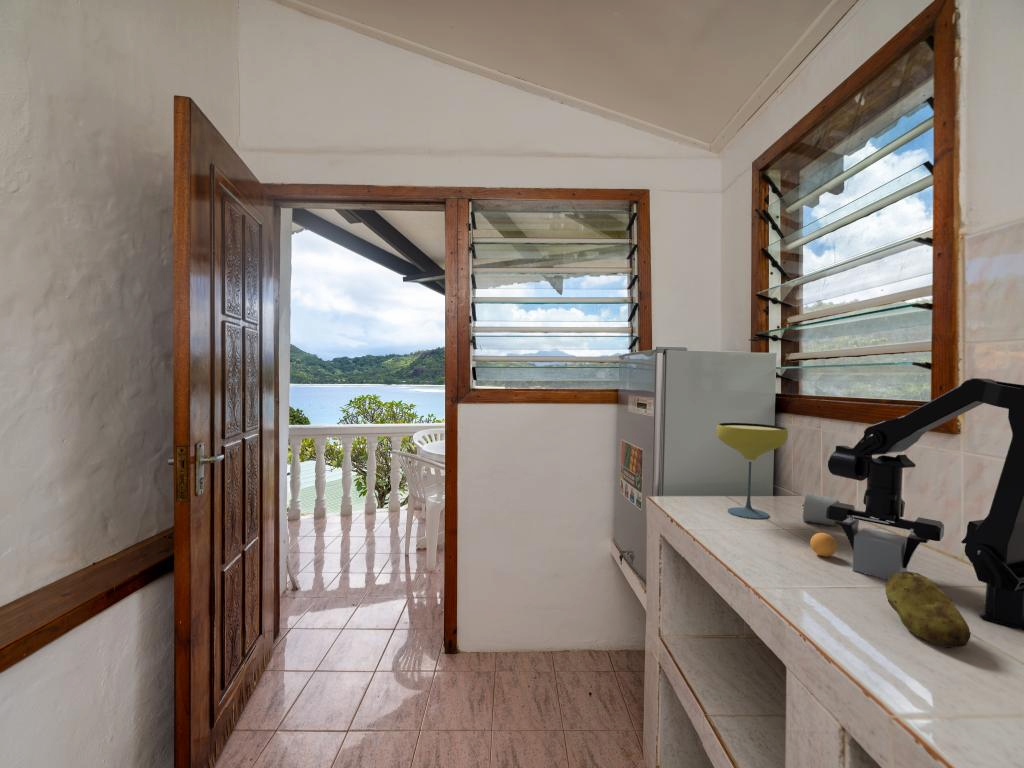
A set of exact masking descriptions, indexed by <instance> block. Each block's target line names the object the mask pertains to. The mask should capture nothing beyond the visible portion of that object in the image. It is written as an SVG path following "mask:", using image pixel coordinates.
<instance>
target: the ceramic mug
mask: <svg viewBox="0 0 1024 768" xmlns="http://www.w3.org/2000/svg"><path fill="white" fill-rule="evenodd" d="M803 502H804V503H803V511H802V520H803V522H807V523H813V524H818V523H819V525H825V526H830V525H831V527H832V526H833V527H834V526H838V525H837V524H836V520H831V519H828V518H826V510H827V507H828V506H830V505H832V504H834V503H835V502H838V503H841V502H840V501H839V500H838V499H836V498H833V497H828V496H824V495H818V494H814V493H809V492H806V493H805V495H804V501H803Z"/></svg>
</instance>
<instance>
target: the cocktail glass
mask: <svg viewBox="0 0 1024 768" xmlns="http://www.w3.org/2000/svg"><path fill="white" fill-rule="evenodd" d="M788 432H789V431H788V428H786V427H784V426H778V425H772V424H763V423H750V422H748V423H747V422H722V423H718V425H717V427H716V435H717V438H719V440H720V441H721V442H723V443H724V444H725V445H727V446H728V447H729V448H731V449H734V450H735V451H737V452H738V453H740V454H741V455H742V457H743V458H744V459H745V461H747V462H748V477H747V479H748V480H747V481H748V482H747V495H746V502H745V506H744V507H743V506H741V507H740V506H736V507H729V508H727V512H728V513H729V514H730V515H733V516H735V517H739V518H744V519H749V518H751V520H765V519H764V518H766V519H768V518H769V517H770V514H769V513H768V512H766V511H763V510H761V509H757V508H753V507H752V504H751V483H752V482H751V479H752V478H751V477H752V463H754V462H755V461H756V460H757V459H758V458H759V457H760V456H762V455H763V454H765V453H768V452H772V451H774V450H776V449H778V448H781V447H782V446H783V445H784V444H786V443H787V441H788V436H789V433H788Z"/></svg>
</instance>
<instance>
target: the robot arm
mask: <svg viewBox="0 0 1024 768" xmlns="http://www.w3.org/2000/svg"><path fill="white" fill-rule="evenodd" d="M983 404H987V405H990V406H993V407H997V408H1001V409H1007V410H1008V414H1007V415H1008V416H1007V419H1008V423H1009V427H1010V430H1011V441H1010V444H1009V446H1008V450H1007V452H1006V453H1007V454H1006V457H1005V459H1004V462H1003V466H1002V468H1001V469H1002V470H1001V472H1000V474H999V475H1000V476H999V478H998V482H997V486H996V488H995V489H996V490H995V492H994V496H993V499H992V503H991V505H990V509H989V512H988V514H987V516H986V517H985V518H984V519H977V520H970V521H968V523H967V525H966V526H967V527H966V533H965V534H966V535H965V536H964V538H963V539H962V540H961V544H963V545H964V544H965V545H964V553H965V556H966V557H967V558H968V561H970V563H971V564H972V566H973V570H974V572H975V576H976V578H977V580H978V581H979V582H982V583H985V584H986V585H985V600H984V601H985V603H983V604H982V606H981V610H980V614H979V618H980V619H982V620H983V619H984V620H986V621H989V622H993V623H997V624H999V625H1000V624H1001V625H1005V626H1008V627H1012V628H1016V629H1019V630H1023V631H1024V384H1020V383H1019V384H1018V383H1012V382H1005V381H997V380H995V379H993V378H992V379H991V378H982V377H981V378H980V377H979V378H977V377H974V378H973V377H972V378H969V379H967V380H964V382H963V383H961V384H960V385H958V386H957V387H954V388H953V389H951V390H949V391H947V392H945V393H944V394H942V395H940V396H938V397H936V398H935V399H932V400H930V401H928V402H927V403H924V404H923V405H921V406H920V407H918V408H916V409H914V410H912V411H910V412H909V413H907V414H904V415H902V416H899V417H895V418H891V419H888V420H883V421H880V422H877V423H875V424H872V425H869V426H867V427H866V428H865V430H863V437H862V438H861V439H860V440H859V441H858V442H857V443H856V444H855V445H854V447H850V446H848V445H836V446H835V451H833V452H832V453H831V455H830V456H829V459H828V461H827V468H828V471H829V473H830V474H831V475H833V476H837V477H841V478H846V479H850V480H855V481H859V482H860V481H861V482H862V481H864V480H866V489H865V491H864V495H863V500H862V501H863V504H864V506H865V511H862V510H858V509H855V508H856V507H855V505H853V504H848V503H843V502H840V503H838V502H835V503H834V504H832V505H830V506H828V507H827V510H826V518H828V519H831V520H836V524H837V525H836V526H841V529H842V530H843V532H844V533H845V535H846V537H847V539H848V541H849V544H850V547H851V549H852V552H853V551H854V535H855V534H857V533H858V532H859V522H860V521H862V522H867V523H873V524H876V525H881V526H887V527H893V528H898V529H902V530H903V529H904V530H908V531H910V532H909V533H910V534H909V535H908V536H906V537H907V543H906V548H905V554H904V560H903V568H905V569H906V568H907V569H908V566H909V564H910V562H911V560H912V557H913V555H914V553H915V552H916V549H917V548H918V547H919V546H920V544H921V543H922V544H927V543H928V542H930V541H934V542H941V540H942V539H943V537H944V536H945V524H943V522H942V521H940V520H935V519H932V518H931V519H930V518H926V517H917V519H916V520H911V519H904V515H905V508H906V507H905V506H906V501H904V500H903V498H902V493H903V492H902V491H903V490H902V489H903V474H904V473H903V471H904V469H909V468H915V467H916V463H914V461H912V460H911V459H910V458H909V457H908V456H907V454H897V455H896V456H890V455H888V454H893V453H902V452H904V451H906V450H908V449H909V448H910V447H911V446H912V447H913V445H914V444H916V443H917V442H919V440H920V439H921V437H923V435H924V434H926V433H927V432H929V431H930V430H933V429H935V428H936V427H939V426H941V425H943V424H945V423H947V422H949V421H950V420H953V419H954V418H955V419H956V418H957V417H959V416H961V415H963V414H965V413H967V412H969V411H971V410H973V409H975V408H977V407H979V406H982V405H983ZM873 456H877V457H873Z"/></svg>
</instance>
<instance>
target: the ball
mask: <svg viewBox="0 0 1024 768" xmlns="http://www.w3.org/2000/svg"><path fill="white" fill-rule="evenodd" d="M809 543H810V547H811V550H812V551H813V552H814V553H815V554H816V555H818V556H820V557H830V556H833V555H834V554H835V553H836V552H837V550H838V549H837V548H838V544H837V541H836V540H835V538H834V537H833V536H832V535H830V534H829V533H826V532H817V533H815V534H814V535H812V537H811V539H810V542H809Z"/></svg>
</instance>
